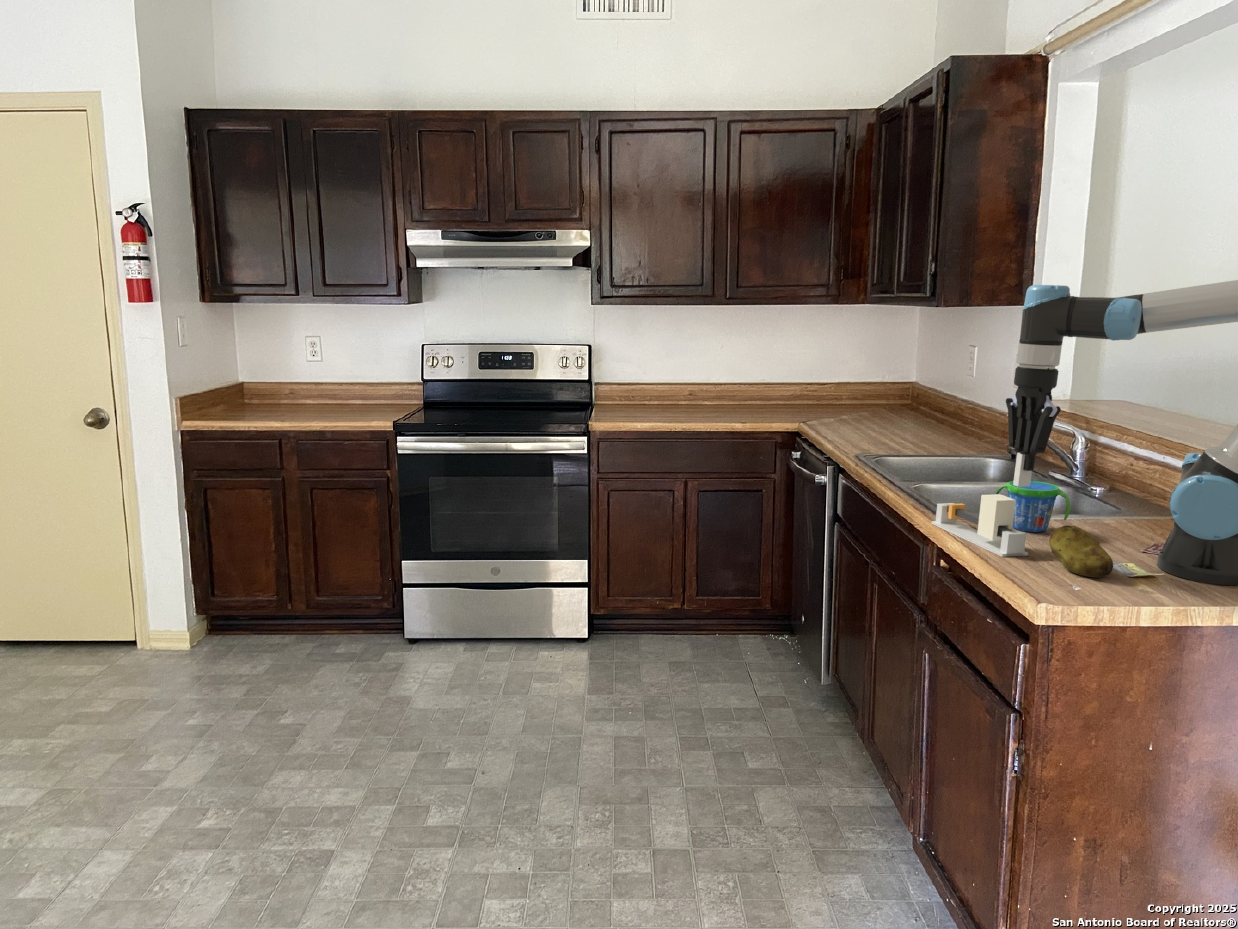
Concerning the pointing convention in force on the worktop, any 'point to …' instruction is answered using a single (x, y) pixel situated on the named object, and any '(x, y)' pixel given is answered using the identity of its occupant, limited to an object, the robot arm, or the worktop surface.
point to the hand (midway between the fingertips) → (1021, 485)
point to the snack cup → (1034, 504)
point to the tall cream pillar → (995, 515)
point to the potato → (1080, 552)
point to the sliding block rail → (948, 521)
